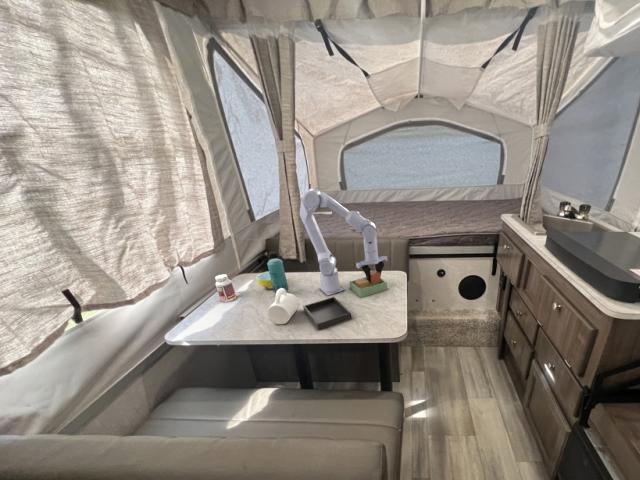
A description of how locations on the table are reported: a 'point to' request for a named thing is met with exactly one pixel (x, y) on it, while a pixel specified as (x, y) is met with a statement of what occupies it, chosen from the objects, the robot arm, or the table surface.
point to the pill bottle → (225, 288)
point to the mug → (282, 307)
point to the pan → (327, 312)
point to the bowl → (265, 280)
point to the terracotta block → (374, 277)
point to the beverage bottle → (277, 272)
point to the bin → (368, 288)
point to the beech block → (362, 283)
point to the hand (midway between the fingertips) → (373, 279)
